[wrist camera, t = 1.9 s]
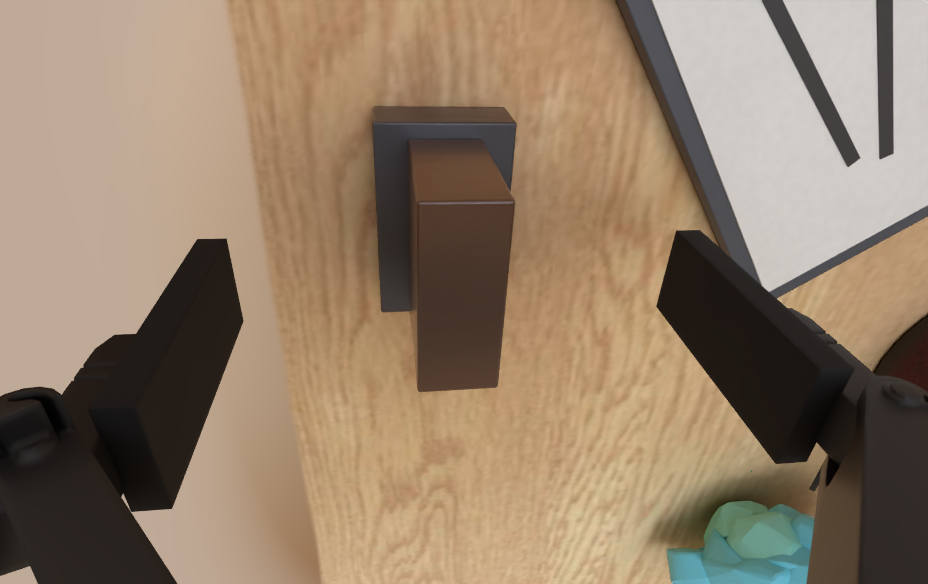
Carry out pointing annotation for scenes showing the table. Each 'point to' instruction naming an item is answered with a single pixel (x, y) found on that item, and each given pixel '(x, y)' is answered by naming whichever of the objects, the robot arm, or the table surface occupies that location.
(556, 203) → the table surface
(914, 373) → the vase
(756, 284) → the robot arm
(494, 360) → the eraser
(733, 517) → the light blue toy tree
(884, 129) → the whiteboard
